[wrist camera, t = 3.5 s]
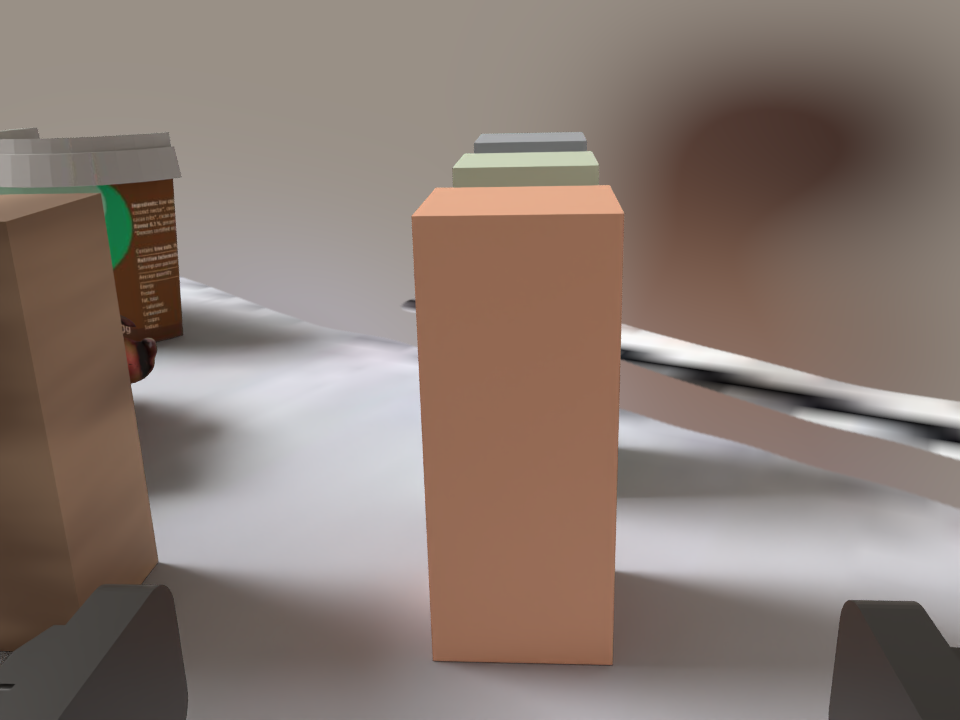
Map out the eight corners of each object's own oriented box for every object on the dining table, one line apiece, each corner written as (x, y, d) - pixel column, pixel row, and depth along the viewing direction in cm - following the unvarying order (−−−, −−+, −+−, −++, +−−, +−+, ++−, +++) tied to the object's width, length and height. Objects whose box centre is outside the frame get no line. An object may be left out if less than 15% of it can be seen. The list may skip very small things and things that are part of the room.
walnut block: (-77, 649, 21) (-187, 224, 18) (17, 559, 25) (-60, 195, 22) (88, 652, 21) (5, 221, 18) (158, 561, 25) (101, 193, 21)
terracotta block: (432, 660, 20) (411, 216, 17) (450, 566, 24) (435, 187, 21) (612, 665, 20) (624, 213, 17) (601, 568, 24) (609, 185, 21)
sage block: (463, 496, 28) (452, 168, 25) (473, 444, 32) (464, 153, 29) (593, 497, 28) (599, 165, 24) (587, 445, 31) (591, 151, 28)
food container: (-48, 334, 47) (-91, 136, 44) (62, 307, 52) (30, 127, 48) (89, 374, 40) (50, 143, 37) (202, 339, 45) (175, 132, 42)
